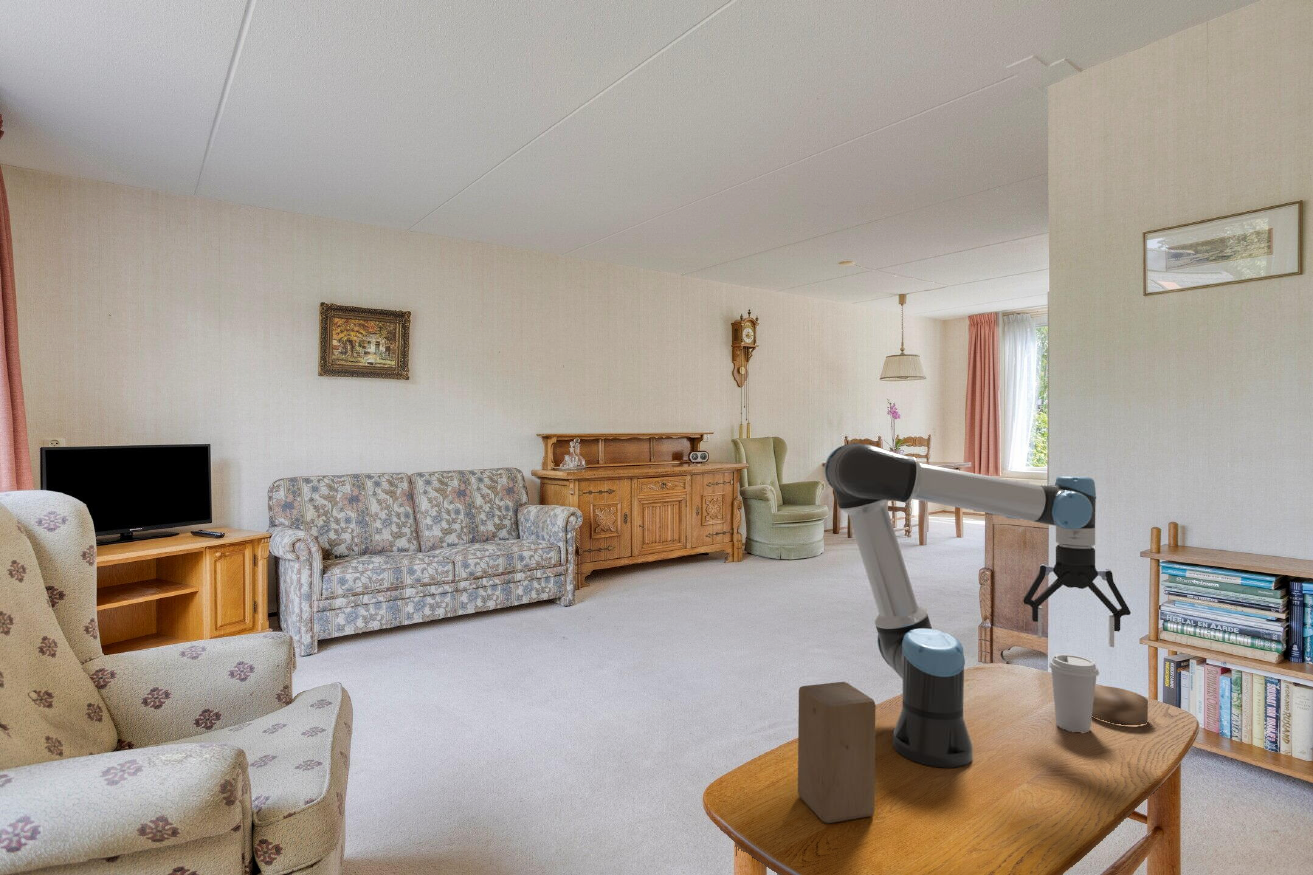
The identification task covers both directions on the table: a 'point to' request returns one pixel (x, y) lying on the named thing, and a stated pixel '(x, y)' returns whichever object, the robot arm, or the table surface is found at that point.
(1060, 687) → the coffee cup
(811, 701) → the wooden block
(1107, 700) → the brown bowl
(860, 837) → the table surface
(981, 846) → the table surface
